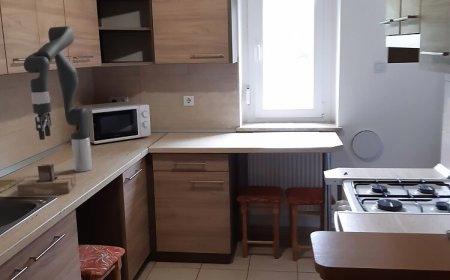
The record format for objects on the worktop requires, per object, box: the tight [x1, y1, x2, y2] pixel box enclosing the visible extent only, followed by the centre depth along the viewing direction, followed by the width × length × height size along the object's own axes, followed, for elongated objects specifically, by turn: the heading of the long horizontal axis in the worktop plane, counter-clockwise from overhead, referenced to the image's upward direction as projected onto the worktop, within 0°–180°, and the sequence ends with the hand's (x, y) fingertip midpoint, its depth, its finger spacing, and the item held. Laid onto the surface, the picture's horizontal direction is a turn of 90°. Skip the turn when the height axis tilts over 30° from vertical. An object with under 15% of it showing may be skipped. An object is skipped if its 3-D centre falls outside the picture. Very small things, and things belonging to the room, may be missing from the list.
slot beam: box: [16, 174, 77, 197], centre depth 220 cm, size 14×22×5 cm, turn 94°
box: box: [37, 163, 56, 182], centre depth 220 cm, size 6×4×12 cm
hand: (45, 137), depth 217 cm, fingers open, 8 cm apart
